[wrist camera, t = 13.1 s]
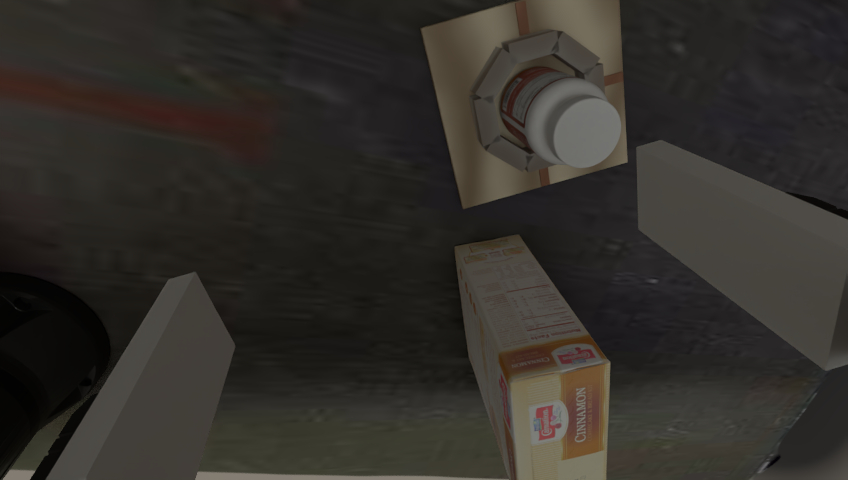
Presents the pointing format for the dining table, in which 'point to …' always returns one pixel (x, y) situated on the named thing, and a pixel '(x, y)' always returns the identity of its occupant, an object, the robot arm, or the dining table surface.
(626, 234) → the dining table surface
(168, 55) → the dining table surface
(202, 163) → the dining table surface
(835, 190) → the dining table surface
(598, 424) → the coffeecake box
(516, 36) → the socket
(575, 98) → the pill bottle
